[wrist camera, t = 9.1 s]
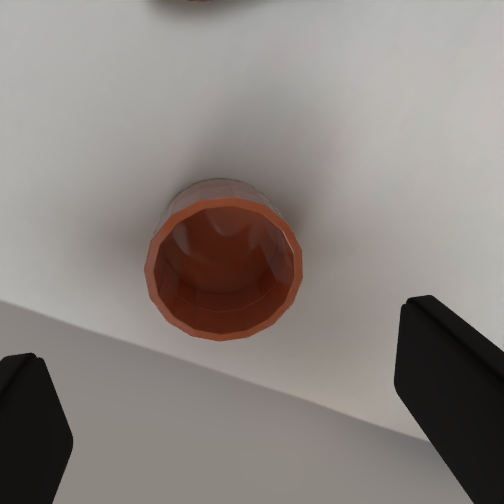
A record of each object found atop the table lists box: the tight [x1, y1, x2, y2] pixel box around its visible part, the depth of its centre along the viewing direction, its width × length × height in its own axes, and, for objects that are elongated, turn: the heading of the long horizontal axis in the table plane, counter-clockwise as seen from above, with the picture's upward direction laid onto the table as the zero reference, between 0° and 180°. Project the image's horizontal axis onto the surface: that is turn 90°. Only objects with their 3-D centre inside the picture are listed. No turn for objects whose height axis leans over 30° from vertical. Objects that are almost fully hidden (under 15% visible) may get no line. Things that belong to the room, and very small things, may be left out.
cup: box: [144, 179, 303, 341], centre depth 17 cm, size 7×7×4 cm
